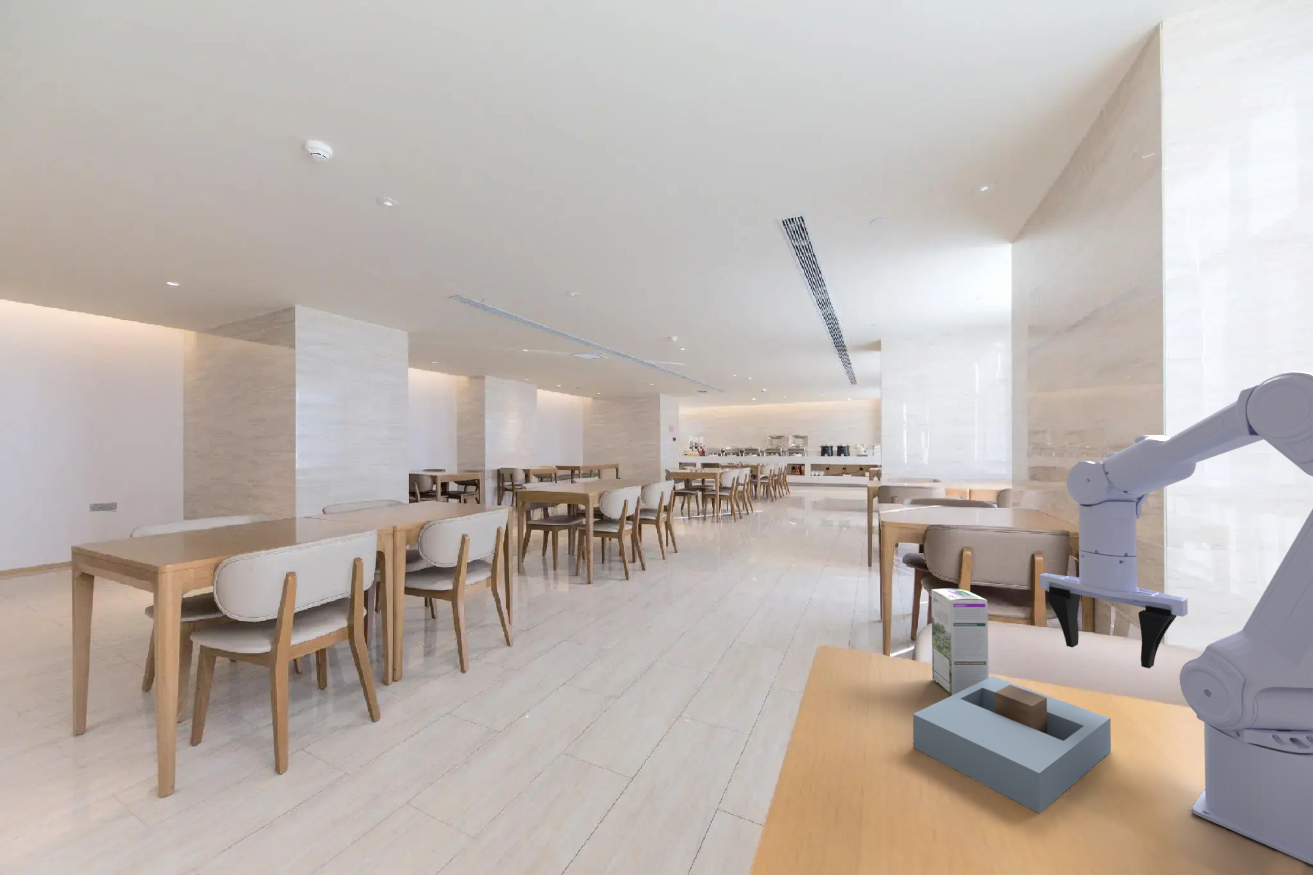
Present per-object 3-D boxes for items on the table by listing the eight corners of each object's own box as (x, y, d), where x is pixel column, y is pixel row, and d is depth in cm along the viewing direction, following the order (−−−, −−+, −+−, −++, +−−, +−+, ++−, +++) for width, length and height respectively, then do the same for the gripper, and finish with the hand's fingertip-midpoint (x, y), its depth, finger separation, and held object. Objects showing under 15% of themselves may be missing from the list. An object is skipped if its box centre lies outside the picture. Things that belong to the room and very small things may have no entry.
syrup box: (991, 698, 73) (990, 598, 73) (950, 697, 73) (950, 598, 74) (967, 680, 79) (967, 588, 79) (930, 679, 79) (929, 587, 79)
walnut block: (1047, 747, 61) (1046, 697, 61) (1032, 757, 59) (1032, 706, 59) (1010, 731, 64) (1010, 684, 65) (995, 740, 62) (995, 692, 63)
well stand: (1110, 751, 60) (1110, 717, 60) (1039, 813, 50) (1039, 773, 50) (992, 704, 71) (992, 676, 71) (913, 747, 61) (913, 713, 61)
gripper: (1193, 559, 62) (1195, 668, 62) (1053, 540, 75) (1054, 632, 74) (1178, 565, 59) (1179, 682, 58) (1033, 545, 71) (1033, 641, 70)
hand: (1108, 655), depth 66 cm, fingers open, 7 cm apart
